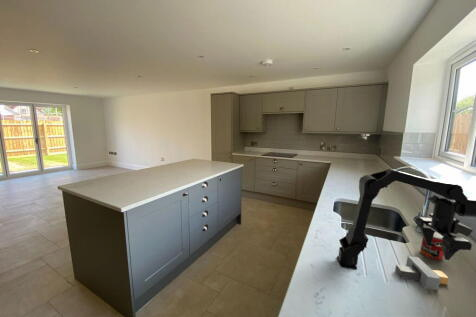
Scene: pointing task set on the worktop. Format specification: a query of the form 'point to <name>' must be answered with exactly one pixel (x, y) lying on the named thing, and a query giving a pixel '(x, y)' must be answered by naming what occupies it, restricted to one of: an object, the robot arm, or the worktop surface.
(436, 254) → the canned food
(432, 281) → the housing
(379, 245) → the worktop surface
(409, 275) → the plug
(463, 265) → the worktop surface
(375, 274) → the worktop surface
